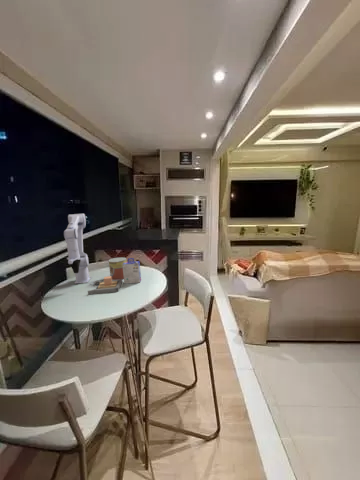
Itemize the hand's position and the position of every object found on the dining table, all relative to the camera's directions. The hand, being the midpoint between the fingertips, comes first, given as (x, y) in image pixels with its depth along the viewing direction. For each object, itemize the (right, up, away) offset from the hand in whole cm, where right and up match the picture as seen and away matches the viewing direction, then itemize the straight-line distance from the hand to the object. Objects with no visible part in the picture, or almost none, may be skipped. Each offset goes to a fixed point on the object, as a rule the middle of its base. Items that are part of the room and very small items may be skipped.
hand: (76, 272), depth 148 cm
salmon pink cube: (+18, -7, +1) cm, 19 cm away
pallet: (+18, -9, +2) cm, 20 cm away
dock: (+18, -9, +1) cm, 20 cm away
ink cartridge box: (+31, -7, +9) cm, 33 cm away
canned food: (+20, -6, +19) cm, 28 cm away
